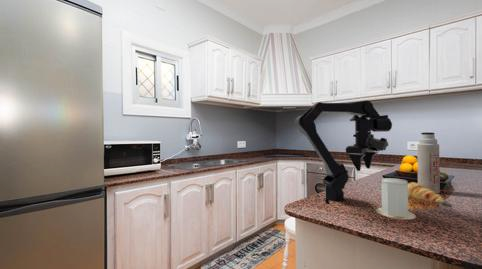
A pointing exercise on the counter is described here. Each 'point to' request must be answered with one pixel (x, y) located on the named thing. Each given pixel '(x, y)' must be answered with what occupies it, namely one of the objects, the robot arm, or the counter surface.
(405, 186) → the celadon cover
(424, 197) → the croissant
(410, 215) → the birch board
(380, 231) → the counter surface
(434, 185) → the thermos bottle
